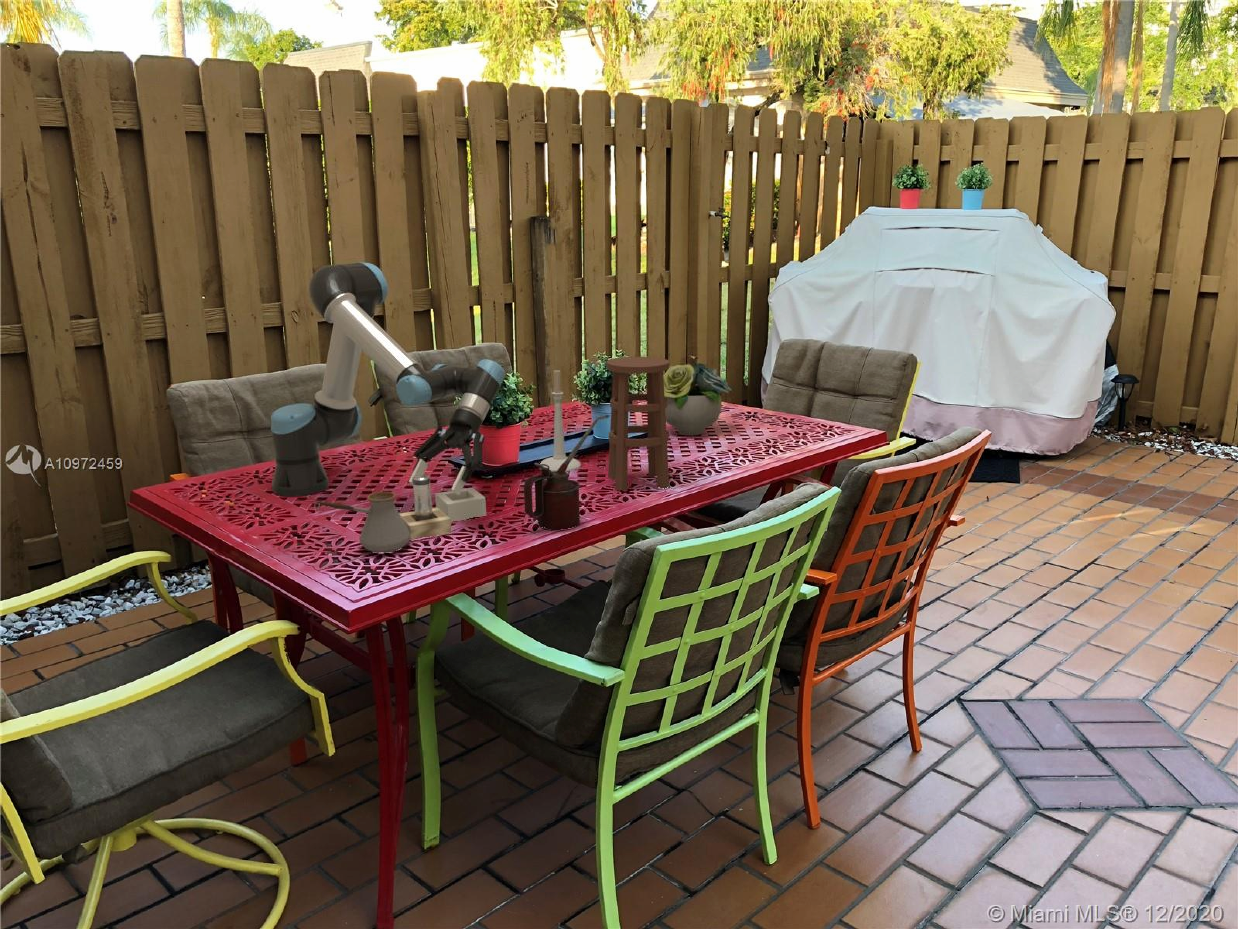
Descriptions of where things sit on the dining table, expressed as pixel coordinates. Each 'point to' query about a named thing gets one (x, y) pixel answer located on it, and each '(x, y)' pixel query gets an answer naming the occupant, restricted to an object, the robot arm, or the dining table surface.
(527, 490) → the oil can
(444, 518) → the socket block
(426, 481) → the salt shaker
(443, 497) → the small grey open-top box
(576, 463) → the candlestick
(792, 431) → the dining table surface
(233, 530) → the dining table surface
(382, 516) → the coffee pot
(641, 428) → the stool
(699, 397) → the flower arrangement
